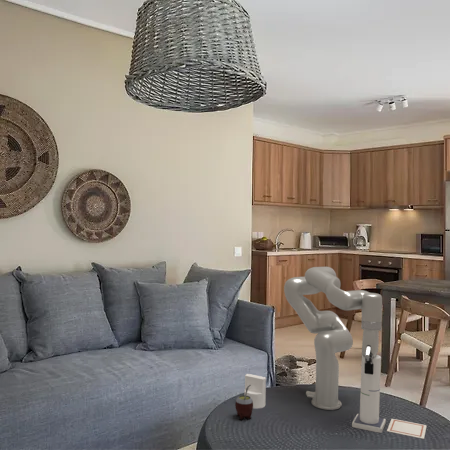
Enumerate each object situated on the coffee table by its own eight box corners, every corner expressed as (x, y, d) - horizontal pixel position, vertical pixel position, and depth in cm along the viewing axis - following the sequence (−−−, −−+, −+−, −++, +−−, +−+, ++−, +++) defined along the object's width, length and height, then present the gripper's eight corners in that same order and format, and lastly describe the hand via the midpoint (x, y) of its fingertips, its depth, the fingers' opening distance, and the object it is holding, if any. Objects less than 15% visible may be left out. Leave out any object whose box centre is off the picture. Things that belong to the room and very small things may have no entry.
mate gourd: (240, 412, 198) (240, 376, 198) (257, 416, 195) (258, 379, 195) (231, 419, 192) (232, 381, 192) (249, 423, 188) (250, 384, 188)
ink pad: (351, 426, 187) (352, 422, 187) (357, 417, 196) (357, 412, 196) (381, 433, 182) (381, 428, 182) (385, 423, 191) (385, 418, 191)
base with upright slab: (269, 403, 209) (269, 375, 209) (259, 410, 201) (259, 381, 201) (250, 399, 214) (251, 371, 214) (240, 405, 206) (241, 377, 206)
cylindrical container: (379, 424, 185) (382, 359, 184) (360, 422, 186) (362, 357, 186) (377, 417, 192) (379, 354, 191) (358, 415, 193) (361, 352, 193)
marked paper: (386, 431, 184) (386, 430, 184) (391, 419, 195) (391, 418, 195) (423, 438, 178) (424, 438, 178) (426, 425, 189) (426, 425, 189)
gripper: (365, 320, 198) (365, 364, 198) (357, 328, 182) (356, 375, 182) (385, 322, 195) (384, 366, 195) (377, 330, 179) (377, 378, 179)
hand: (370, 370), depth 188 cm, fingers closed on cylindrical container, 7 cm apart
